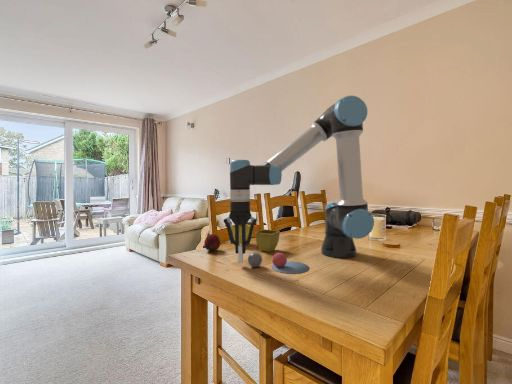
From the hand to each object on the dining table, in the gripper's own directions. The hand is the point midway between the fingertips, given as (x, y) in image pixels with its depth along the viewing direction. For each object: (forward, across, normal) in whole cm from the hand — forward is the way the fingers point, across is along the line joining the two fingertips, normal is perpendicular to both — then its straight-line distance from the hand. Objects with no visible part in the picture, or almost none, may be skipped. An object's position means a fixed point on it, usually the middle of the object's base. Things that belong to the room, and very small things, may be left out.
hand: (240, 261), depth 102 cm
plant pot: (+2, -4, +35) cm, 35 cm away
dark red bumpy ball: (+2, -16, +22) cm, 27 cm away
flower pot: (+2, +10, +24) cm, 26 cm away
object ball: (-1, +15, 0) cm, 15 cm away
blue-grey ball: (-1, +6, 0) cm, 6 cm away
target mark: (+2, +19, 0) cm, 19 cm away
